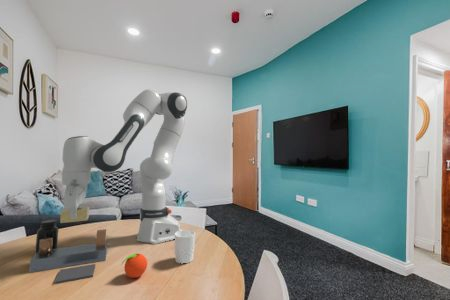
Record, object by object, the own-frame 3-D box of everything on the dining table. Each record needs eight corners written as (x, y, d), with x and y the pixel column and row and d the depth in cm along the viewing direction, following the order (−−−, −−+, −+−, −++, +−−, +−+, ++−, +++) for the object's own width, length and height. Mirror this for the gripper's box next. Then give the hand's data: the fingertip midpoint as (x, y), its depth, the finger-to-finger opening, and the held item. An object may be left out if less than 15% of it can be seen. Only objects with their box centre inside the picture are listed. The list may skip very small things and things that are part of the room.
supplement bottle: (44, 255, 83) (46, 224, 83) (30, 253, 84) (32, 222, 85) (61, 248, 90) (63, 219, 90) (48, 247, 91) (49, 218, 92)
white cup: (198, 257, 84) (198, 231, 85) (188, 266, 77) (189, 238, 78) (180, 254, 87) (181, 229, 88) (169, 262, 80) (170, 235, 80)
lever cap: (88, 216, 84) (89, 206, 84) (86, 220, 79) (87, 209, 80) (63, 219, 81) (64, 208, 81) (60, 223, 76) (60, 211, 76)
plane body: (106, 251, 87) (108, 226, 88) (105, 260, 80) (106, 233, 81) (37, 262, 78) (39, 234, 78) (29, 272, 71) (31, 241, 71)
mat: (95, 265, 76) (95, 263, 76) (92, 276, 69) (92, 274, 69) (60, 271, 72) (60, 269, 72) (53, 284, 65) (54, 282, 65)
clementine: (122, 286, 65) (123, 261, 65) (118, 275, 70) (119, 253, 71) (149, 277, 69) (150, 255, 70) (143, 268, 75) (144, 247, 75)
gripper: (82, 181, 72) (80, 223, 72) (90, 176, 91) (89, 209, 90) (58, 182, 70) (57, 225, 69) (72, 177, 88) (71, 210, 88)
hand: (75, 216), depth 80 cm, fingers closed on lever cap, 5 cm apart
